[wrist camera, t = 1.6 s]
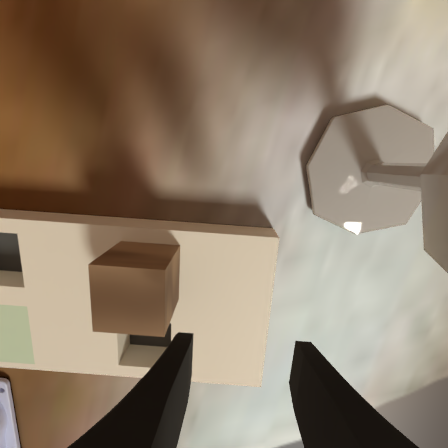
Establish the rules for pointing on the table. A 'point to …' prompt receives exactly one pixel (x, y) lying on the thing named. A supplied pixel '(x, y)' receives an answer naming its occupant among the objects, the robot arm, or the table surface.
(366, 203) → the wineglass
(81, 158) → the table surface
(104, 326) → the block
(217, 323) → the beige flat block
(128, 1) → the table surface
